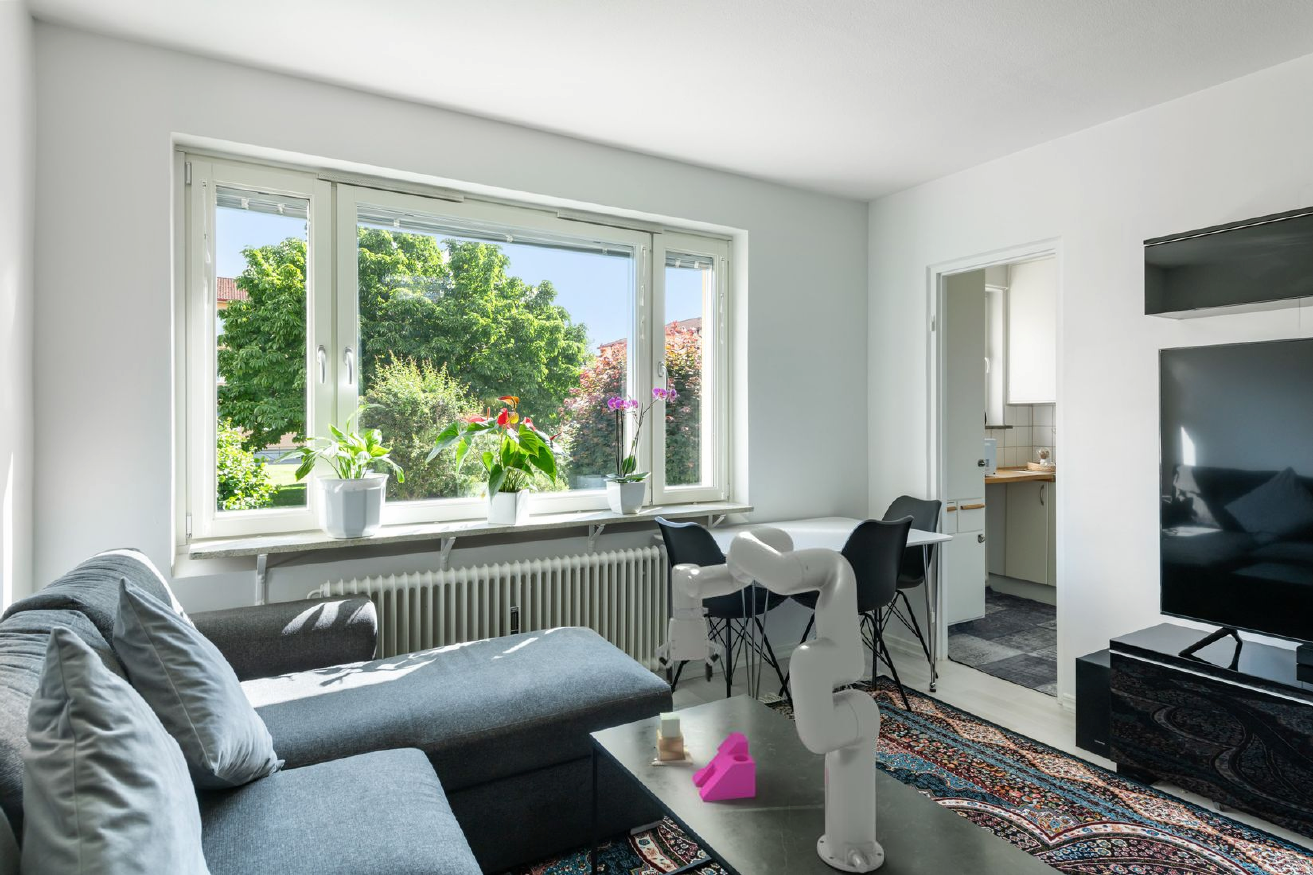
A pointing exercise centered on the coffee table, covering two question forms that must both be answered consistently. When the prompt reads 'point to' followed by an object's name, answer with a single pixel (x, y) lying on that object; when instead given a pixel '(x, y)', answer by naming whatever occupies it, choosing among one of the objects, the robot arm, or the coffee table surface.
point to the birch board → (685, 761)
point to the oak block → (670, 747)
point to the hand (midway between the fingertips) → (689, 681)
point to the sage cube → (669, 725)
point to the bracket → (728, 772)
